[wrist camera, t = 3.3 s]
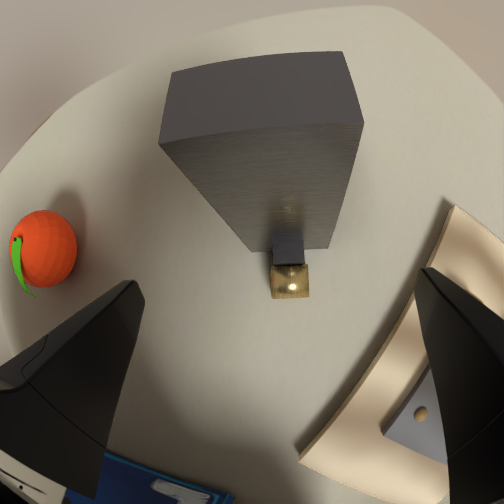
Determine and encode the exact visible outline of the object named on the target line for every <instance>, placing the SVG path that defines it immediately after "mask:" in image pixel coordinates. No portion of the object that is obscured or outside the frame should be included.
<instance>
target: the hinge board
mask: <svg viewBox="0 0 504 504" xmlns="http://www.w3.org/2000/svg"><path fill="white" fill-rule="evenodd" d="M426 267H433V268H435V269H436V270H437V271H439V272H440V273H442V274H443V275H445V276H446V277H448V278H449V279H450V280H452V281H453V282H455V283H456V284H457V285H459V286H460V287H462V288H463V289H464V290H466V291H467V292H468V293H470V294H471V295H472V296H474V297H475V298H476V299H478V300H479V301H480V302H482V303H483V304H484V305H486V306H487V307H488V308H490V309H491V310H492V311H493V312H495V313H496V314H497V315H498V316H500V317H501V318H502V319H503V320H504V244H503V243H502V242H501V241H500V240H499V239H498V238H496V237H495V236H494V235H493V234H492V233H490V232H489V231H488V230H487V229H486V228H484V227H483V226H482V225H481V224H479V223H478V222H477V221H476V220H474V219H473V218H472V217H470V216H469V215H468V214H466V213H465V212H464V211H462V210H461V209H460V208H458V207H457V206H456V205H455V206H454V207H453V208H451V209H450V210H449V212H448V215H447V217H446V220H445V223H444V225H443V228H442V230H441V232H440V235H439V237H438V240H437V242H436V244H435V247H434V249H433V251H432V253H431V256H430V258H429V260H428V262H427V264H426ZM299 463H301V464H303V465H305V466H307V467H308V468H310V469H312V470H314V471H316V472H318V473H320V474H322V475H324V476H327V477H329V478H331V479H333V480H335V481H337V482H339V483H342V484H344V485H346V486H348V487H351V488H353V489H355V490H358V491H360V492H363V493H365V494H368V495H370V496H373V497H375V498H378V499H381V500H384V501H386V502H389V503H392V504H438V503H439V501H440V500H441V499H442V498H443V497H444V496H445V495H446V494H447V493H448V492H449V476H448V465H447V454H446V446H445V439H444V432H443V426H442V420H441V414H440V409H439V404H438V399H437V394H436V389H435V385H434V380H433V376H432V372H431V368H430V364H429V360H428V356H427V352H426V349H425V345H424V341H423V337H422V332H421V327H420V321H419V316H418V311H417V306H416V301H415V297H414V291H413V293H412V295H411V297H410V299H409V300H408V302H407V304H406V306H405V308H404V310H403V311H402V313H401V315H400V317H399V319H398V320H397V322H396V324H395V326H394V327H393V329H392V331H391V332H390V334H389V336H388V337H387V339H386V341H385V342H384V344H383V345H382V347H381V349H380V350H379V352H378V353H377V355H376V356H375V358H374V359H373V361H372V363H371V364H370V366H369V367H368V369H367V370H366V371H365V373H364V374H363V376H362V377H361V379H360V380H359V382H358V383H357V384H356V386H355V387H354V389H353V390H352V391H351V393H350V394H349V395H348V397H347V398H346V399H345V401H344V402H343V403H342V405H341V406H340V407H339V409H338V410H337V411H336V412H335V414H334V415H333V416H332V417H331V419H330V420H329V421H328V422H327V424H326V425H325V426H324V427H323V429H322V430H321V431H320V432H319V433H318V434H317V436H316V437H315V438H314V439H313V440H312V441H311V443H310V444H309V445H308V446H307V447H306V448H305V449H304V450H303V452H302V453H301V454H300V455H299Z"/></svg>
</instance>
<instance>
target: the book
mask: <svg viewBox="0 0 504 504" xmlns="http://www.w3.org/2000/svg"><path fill="white" fill-rule="evenodd" d="M65 496H67V497H69V498H70V500H71V503H72V504H232V503H233V501H234V499H235V498H234V497H233V496H231V495H230V494H229V493H225V492H221V491H217V490H214V489H210V488H206V487H203V486H200V485H196V484H193V483H190V482H187V481H184V480H181V479H178V478H175V477H172V476H169V475H167V474H164V473H161V472H159V471H156V470H154V469H151V468H148V467H145V466H143V465H140V464H138V463H135V462H132V461H130V460H128V459H125V458H123V457H120V456H118V455H116V454H114V453H111V452H109V451H107V450H105V454H104V459H103V463H102V468H101V472H100V477H99V482H98V487H97V492H96V497H95V500H93V499H91V498H88V497H86V496H83V495H81V494H79V493H76V492H74V491H72V490H70V489H67V492H66V495H65Z"/></svg>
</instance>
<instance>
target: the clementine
mask: <svg viewBox="0 0 504 504" xmlns="http://www.w3.org/2000/svg"><path fill="white" fill-rule="evenodd" d="M9 251H10V258H11V263H12V265H13V268H14V271H15V274H16V276H17V278H18V280H19V282H20V284H21V286H22V287H23V288H24V289H25V290H26V291H27V292H28V293H29V294H31V295H32V296H34V295H33V294H32V293H30V292H29V290H28V288H27V287H26V285H25V283H24V281H25V282H26V283H28V284H30V285H33V286H36V287H51V286H54V285H56V284H58V283H60V282H62V281H63V280H64V279H65V278H66V277H67V276H68V275H69V273H70V272H71V270H72V269H73V266H74V264H75V261H76V257H77V242H76V237H75V234H74V231H73V229H72V228H71V226H70V225H69V224H68V222H67V221H66V220H65V219H64V218H62V217H61V216H60V215H58V214H57V213H55V212H51V211H45V210H42V211H35V212H32V213H30V214H28V215H27V216H25V217H24V218H23V219H21V221H20V222H19V223H18V224H17V226H16V227H15V229H14V231H13V233H12V235H11V239H10V245H9ZM34 297H35V296H34ZM35 298H36V297H35Z"/></svg>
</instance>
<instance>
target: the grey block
mask: <svg viewBox="0 0 504 504" xmlns="http://www.w3.org/2000/svg"><path fill="white" fill-rule="evenodd" d="M363 126H364V120H363V116H362V112H361V109H360V105H359V102H358V98H357V95H356V91H355V88H354V85H353V82H352V78H351V75H350V72H349V69H348V66H347V63H346V60H345V58H344V55H343V52H342V51H326V52H299V53H284V54H273V55H264V56H255V57H248V58H241V59H234V60H228V61H223V62H217V63H212V64H207V65H202V66H197V67H193V68H189V69H184V70H180V71H176V72H172V75H171V80H170V84H169V89H168V94H167V98H166V103H165V108H164V114H163V119H162V124H161V130H160V136H159V142H158V144H159V146H160V147H161V148H162V149H163V150H164V151H165V153H166V154H167V155H168V156H169V157H170V158H171V159H172V161H173V162H174V163H175V164H176V165H177V166H178V168H179V169H180V170H181V171H182V172H183V173H184V175H185V176H186V177H187V178H188V179H189V180H190V181H191V183H192V184H193V185H194V186H195V187H196V188H197V190H198V191H199V192H200V193H201V194H202V195H203V197H204V198H205V199H206V200H207V201H208V202H209V204H210V205H211V206H212V207H213V208H214V209H215V210H216V212H217V213H218V214H219V215H220V216H221V217H222V219H223V220H224V221H225V222H226V223H227V224H228V226H229V227H230V228H231V229H232V230H233V231H234V232H235V234H236V235H237V236H238V237H239V238H240V239H241V241H242V242H243V243H244V244H245V245H246V246H247V248H248V249H249V250H250V251H251V252H266V251H273V265H274V266H271V269H270V287H271V296H272V299H280V298H304V297H309V280H308V264H305V262H304V249H323V248H328V247H329V244H330V241H331V238H332V235H333V232H334V229H335V225H336V222H337V219H338V216H339V213H340V209H341V206H342V203H343V200H344V196H345V193H346V189H347V186H348V182H349V179H350V175H351V172H352V168H353V165H354V161H355V157H356V153H357V150H358V146H359V142H360V138H361V134H362V130H363Z"/></svg>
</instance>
